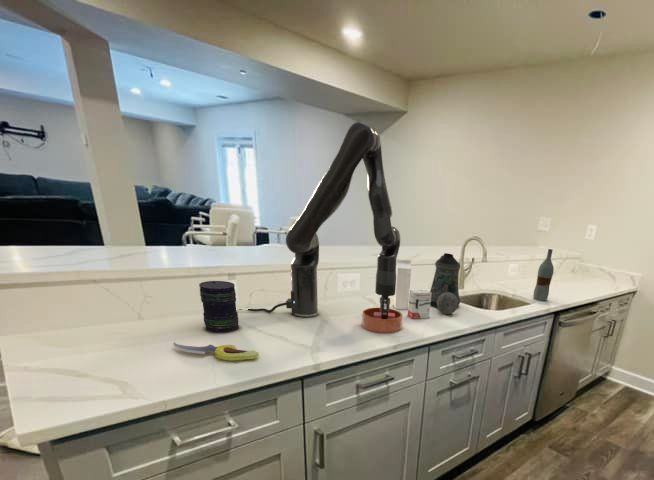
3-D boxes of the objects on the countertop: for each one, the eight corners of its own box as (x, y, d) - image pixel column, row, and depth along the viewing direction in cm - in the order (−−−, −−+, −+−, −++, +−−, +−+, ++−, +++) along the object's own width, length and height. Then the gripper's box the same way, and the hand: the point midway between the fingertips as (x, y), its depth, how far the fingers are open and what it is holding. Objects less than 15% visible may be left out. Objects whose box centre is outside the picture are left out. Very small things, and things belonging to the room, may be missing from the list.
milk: (408, 309, 178) (411, 261, 169) (394, 308, 176) (398, 260, 167) (406, 305, 183) (410, 259, 174) (393, 305, 181) (396, 258, 172)
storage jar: (243, 330, 129) (239, 287, 124) (210, 335, 123) (204, 289, 117) (233, 321, 135) (228, 280, 130) (200, 325, 128) (194, 281, 123)
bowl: (361, 332, 143) (361, 318, 141) (362, 319, 156) (363, 306, 154) (402, 334, 146) (403, 320, 144) (400, 321, 160) (401, 309, 158)
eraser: (373, 326, 148) (373, 315, 147) (373, 322, 152) (374, 312, 150) (394, 327, 150) (394, 316, 149) (393, 324, 154) (394, 313, 152)
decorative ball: (457, 312, 185) (459, 291, 181) (456, 317, 175) (458, 296, 171) (436, 309, 184) (439, 288, 181) (434, 315, 175) (436, 293, 171)
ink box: (412, 319, 165) (414, 292, 161) (407, 315, 169) (409, 289, 164) (429, 318, 170) (432, 292, 165) (424, 314, 174) (426, 289, 169)
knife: (159, 354, 106) (251, 365, 107) (158, 345, 105) (250, 356, 106) (179, 344, 113) (264, 354, 115) (177, 336, 112) (263, 346, 114)
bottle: (548, 302, 231) (559, 251, 219) (533, 300, 230) (544, 249, 219) (545, 298, 239) (556, 249, 228) (531, 296, 239) (541, 247, 227)
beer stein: (442, 311, 183) (448, 258, 173) (416, 300, 194) (420, 250, 184) (466, 307, 194) (472, 257, 185) (439, 297, 206) (444, 250, 196)
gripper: (375, 276, 150) (374, 318, 157) (375, 285, 137) (373, 330, 144) (395, 278, 152) (392, 319, 158) (396, 287, 139) (394, 331, 146)
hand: (383, 324), depth 151 cm, fingers closed on eraser, 4 cm apart
